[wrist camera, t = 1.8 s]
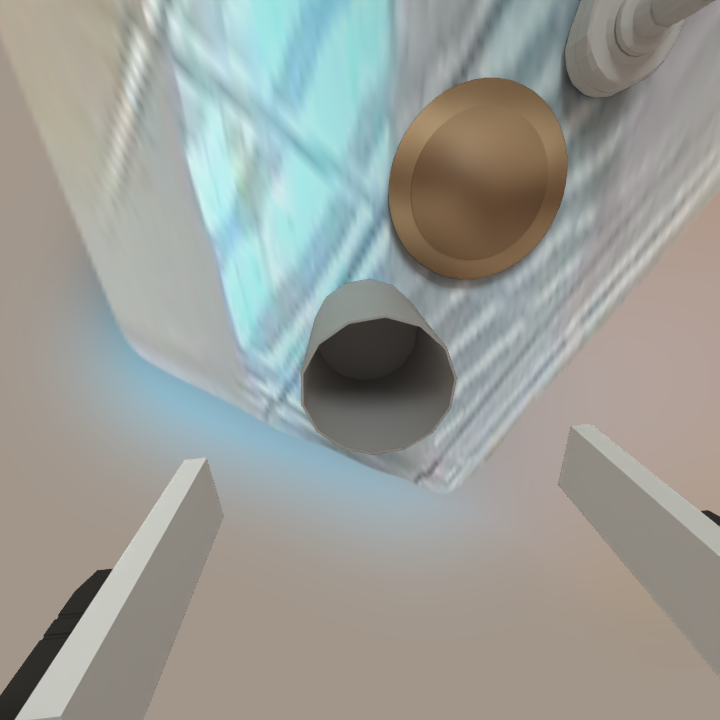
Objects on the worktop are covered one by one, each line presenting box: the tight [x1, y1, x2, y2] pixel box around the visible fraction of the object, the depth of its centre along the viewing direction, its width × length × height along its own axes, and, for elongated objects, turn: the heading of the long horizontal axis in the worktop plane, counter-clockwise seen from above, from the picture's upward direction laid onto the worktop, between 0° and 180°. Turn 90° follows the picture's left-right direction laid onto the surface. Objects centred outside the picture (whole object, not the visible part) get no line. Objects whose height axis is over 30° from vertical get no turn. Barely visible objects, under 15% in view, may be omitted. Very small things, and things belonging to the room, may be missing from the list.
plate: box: [388, 78, 567, 279], centre depth 23 cm, size 12×12×1 cm
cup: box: [301, 279, 457, 455], centre depth 22 cm, size 8×8×10 cm
